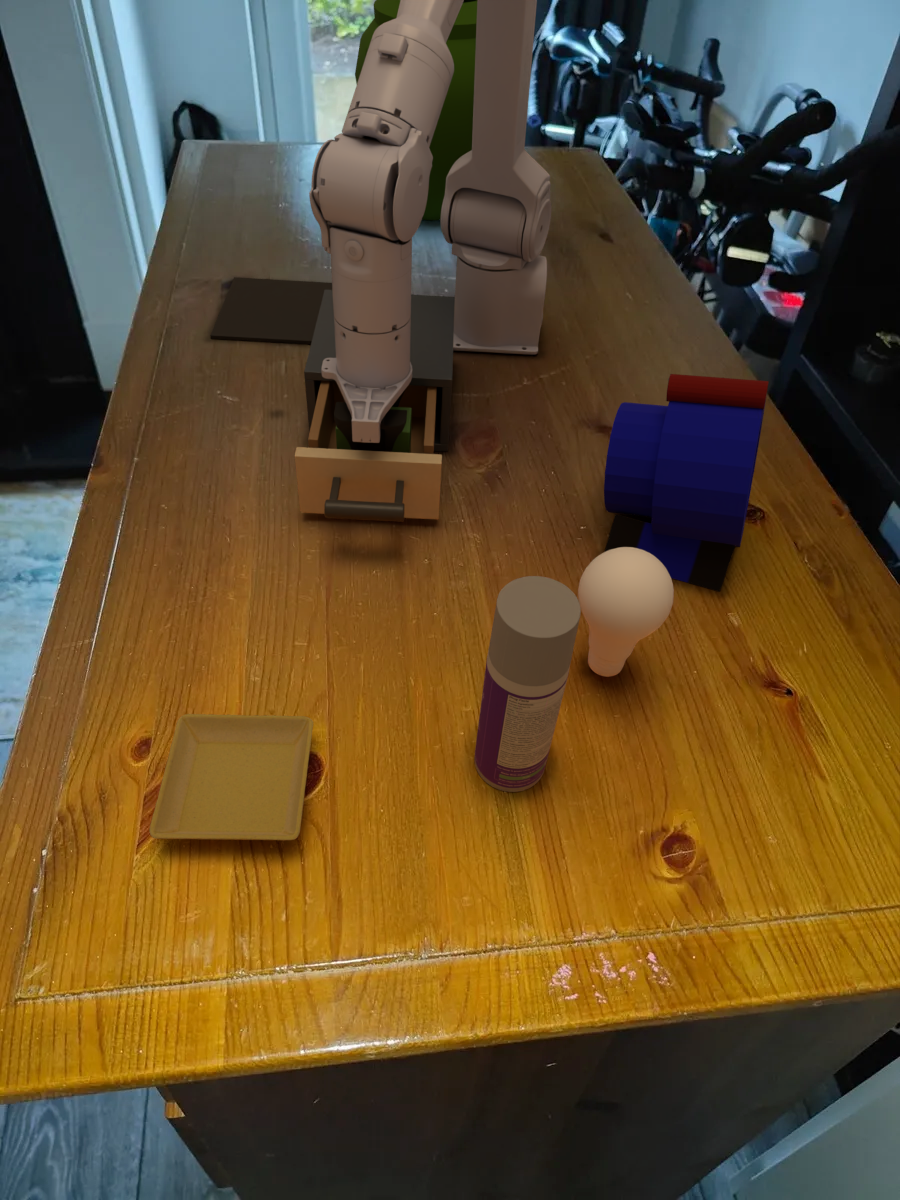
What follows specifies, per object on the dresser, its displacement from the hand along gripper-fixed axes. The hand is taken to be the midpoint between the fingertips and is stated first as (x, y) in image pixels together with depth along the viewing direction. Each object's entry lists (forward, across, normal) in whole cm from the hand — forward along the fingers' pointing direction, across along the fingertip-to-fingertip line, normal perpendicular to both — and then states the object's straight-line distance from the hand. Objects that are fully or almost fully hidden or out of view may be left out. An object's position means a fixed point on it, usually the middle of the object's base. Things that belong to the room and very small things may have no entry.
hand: (375, 461), depth 73 cm
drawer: (+1, +1, 0) cm, 2 cm away
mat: (+2, -28, -10) cm, 30 cm away
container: (+2, +28, +11) cm, 30 cm away
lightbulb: (+2, +20, +18) cm, 27 cm away
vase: (+2, -58, +3) cm, 58 cm away
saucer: (+2, +31, -6) cm, 32 cm away
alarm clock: (+2, +4, +25) cm, 25 cm away
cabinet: (+2, -12, 0) cm, 12 cm away
